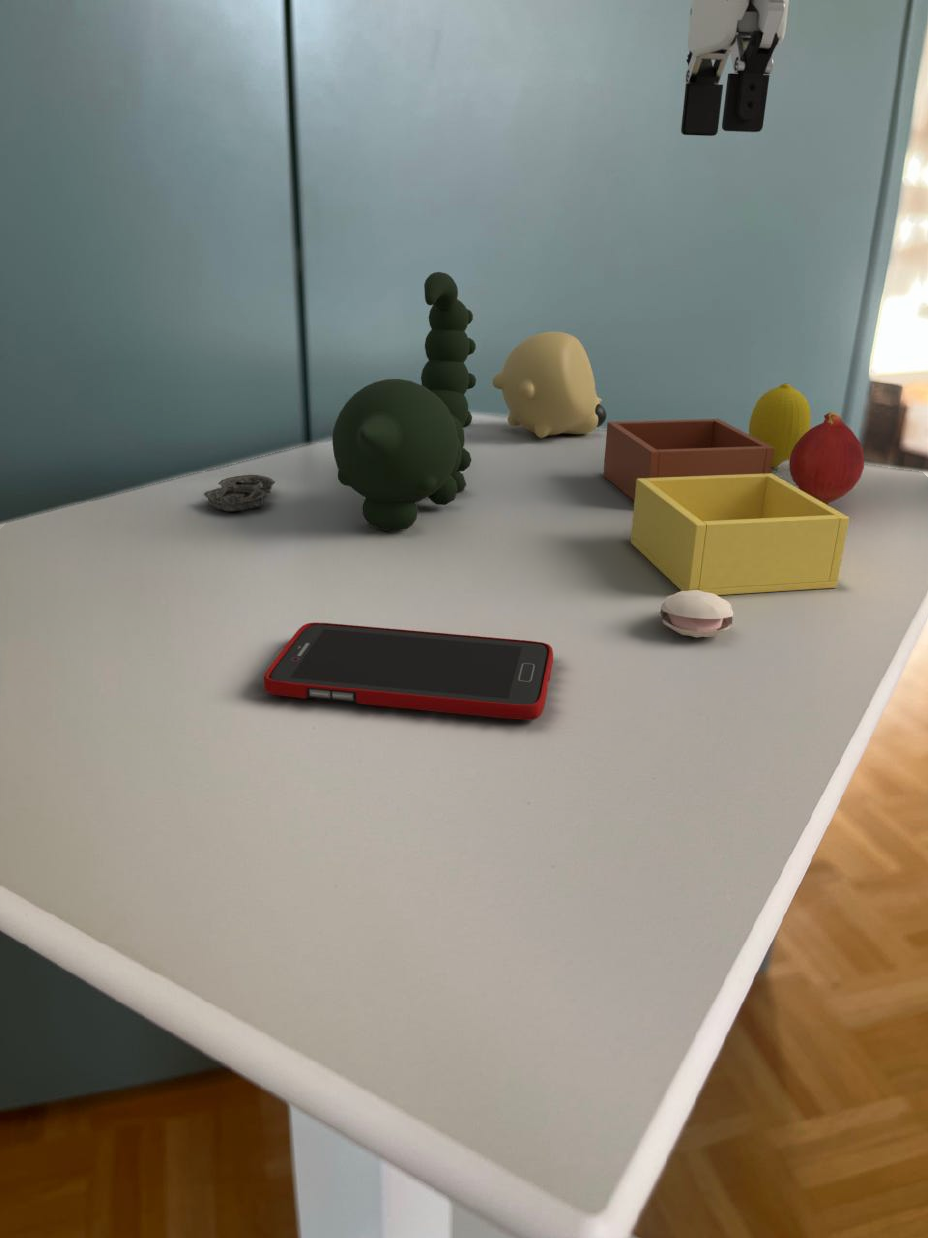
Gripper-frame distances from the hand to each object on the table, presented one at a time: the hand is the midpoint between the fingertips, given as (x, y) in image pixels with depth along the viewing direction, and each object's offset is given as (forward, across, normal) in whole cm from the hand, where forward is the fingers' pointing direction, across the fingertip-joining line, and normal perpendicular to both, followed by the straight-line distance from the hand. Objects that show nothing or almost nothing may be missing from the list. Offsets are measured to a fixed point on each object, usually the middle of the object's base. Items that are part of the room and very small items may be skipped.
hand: (719, 133), depth 84 cm
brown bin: (+29, -8, +2) cm, 30 cm away
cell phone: (+29, -42, +29) cm, 58 cm away
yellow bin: (+29, -26, +5) cm, 39 cm away
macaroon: (+29, -36, +12) cm, 48 cm away
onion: (+29, -13, -8) cm, 33 cm away
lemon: (+29, -1, -9) cm, 30 cm away
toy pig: (+29, +14, +10) cm, 34 cm away
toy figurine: (+29, -10, +26) cm, 41 cm away
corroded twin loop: (+29, -8, +41) cm, 51 cm away
